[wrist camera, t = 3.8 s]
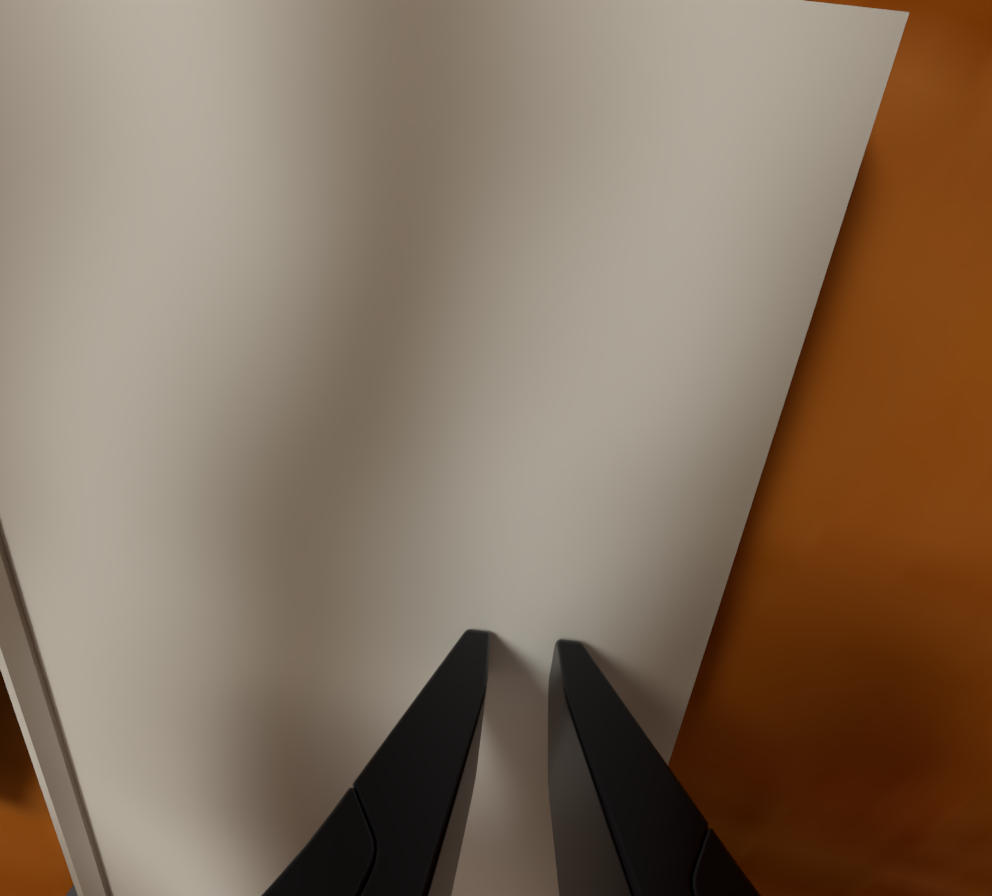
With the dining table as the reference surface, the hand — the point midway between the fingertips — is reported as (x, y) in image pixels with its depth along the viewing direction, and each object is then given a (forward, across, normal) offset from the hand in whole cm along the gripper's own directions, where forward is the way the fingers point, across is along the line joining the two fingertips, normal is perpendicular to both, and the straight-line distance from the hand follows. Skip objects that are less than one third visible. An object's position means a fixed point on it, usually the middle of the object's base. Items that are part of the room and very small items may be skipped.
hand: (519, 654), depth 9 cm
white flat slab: (+1, +3, 0) cm, 3 cm away
